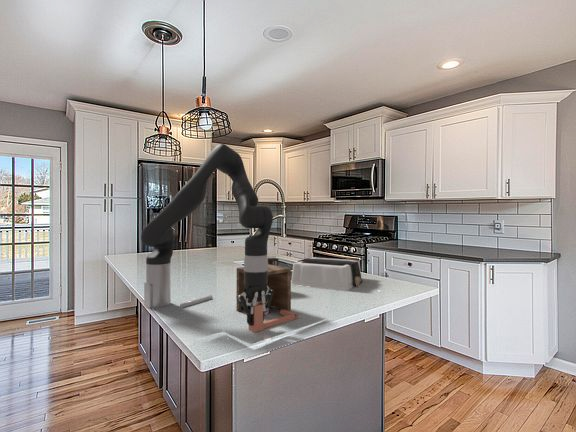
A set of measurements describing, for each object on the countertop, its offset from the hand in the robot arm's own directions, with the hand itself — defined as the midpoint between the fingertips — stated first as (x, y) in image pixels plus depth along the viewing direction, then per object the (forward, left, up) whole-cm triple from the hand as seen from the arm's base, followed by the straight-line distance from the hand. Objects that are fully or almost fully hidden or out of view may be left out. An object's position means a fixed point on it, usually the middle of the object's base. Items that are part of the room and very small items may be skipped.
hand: (255, 323), depth 103 cm
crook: (0, 0, -2) cm, 2 cm away
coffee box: (+35, +36, -2) cm, 50 cm away
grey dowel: (+2, +41, -2) cm, 41 cm away
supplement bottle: (+12, +13, -2) cm, 17 cm away
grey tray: (+70, +29, -3) cm, 75 cm away
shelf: (+15, +14, -2) cm, 21 cm away
